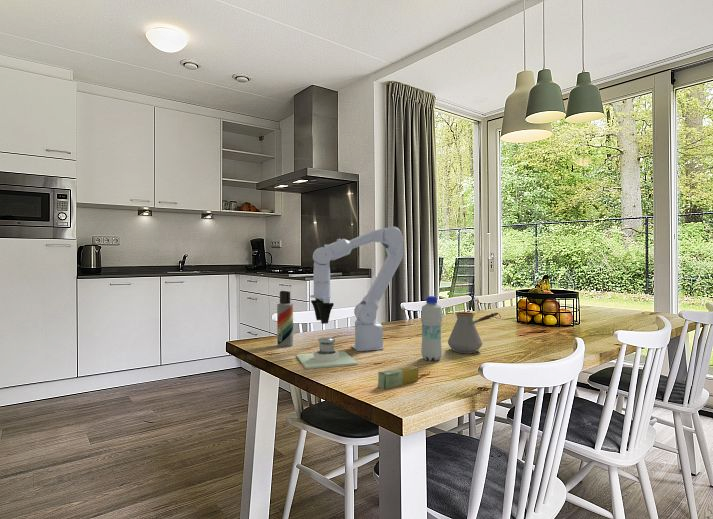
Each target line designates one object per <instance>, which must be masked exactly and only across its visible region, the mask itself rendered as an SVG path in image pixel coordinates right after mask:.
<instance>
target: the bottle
mask: <svg viewBox="0 0 713 519" xmlns="http://www.w3.org/2000/svg"><path fill="white" fill-rule="evenodd" d="M425 301H426V302H425V304H423V305H422V306H421V310H420V311H421V312H420V320H421V358H423V359H424V360H425V361H427V360H428V361H429V362H431V361H432V360H434V361H435V362H436V361H439V360H440V359H441V358H442V355H443V354H442V353H443V351H442V348H443V347H442V322H443V320H442V319H443V312H442V307H441V306H440V305H438V297H436V296H433V295H431V296H426V300H425Z"/></svg>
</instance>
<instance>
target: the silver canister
mask: <svg viewBox="0 0 713 519" xmlns="http://www.w3.org/2000/svg"><path fill="white" fill-rule="evenodd" d="M335 342H336V338H335V337H331V336H330V337H329V336H325V337H319V338H318V343H319V350H320V354H333V353H334V350H335V349H334V347H335V346H334V345H335V344H334V343H335Z"/></svg>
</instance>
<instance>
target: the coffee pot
mask: <svg viewBox="0 0 713 519" xmlns="http://www.w3.org/2000/svg"><path fill="white" fill-rule="evenodd" d="M454 314H455V316H456V321H455V324H454V325H453V328H452V331H451V333H450V334H449V337H448V340H447V343H448V347H450V348H451V349H452V350H453V351H454V352H456V353H459V354H475V353H477V351H479V350H480V349H481V348H482V346H483V341H482V339H481V337H480V335H479V332H478V329H477V328H476V325H475V324H478V323H480V322H484V321H486V320H489V319H491V318H495V319H497V320H499V319H501V314H500V313H499V312H493V313H491V314H487V315H485V316H483V317H480V318H479V319H476V320H474V316H475V313H473V312H467V311H466V312H465V311H463V312H461V311H460V312H455V313H454ZM497 315H499V318H498V317H497Z"/></svg>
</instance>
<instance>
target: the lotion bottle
mask: <svg viewBox="0 0 713 519" xmlns="http://www.w3.org/2000/svg"><path fill="white" fill-rule="evenodd" d="M276 308H277V309H276V319H277V322H276V323H277V326H276V327H277V328H276V330H277V331H276V332H277V339H276V340H277V341H276V342H277V346H278V347H281V348H287V347H288V348H289V347H292V346H293V345H294V304H293V303H291V291H288V290H287V291H286V290H280V291H279V303H277V305H276Z"/></svg>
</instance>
